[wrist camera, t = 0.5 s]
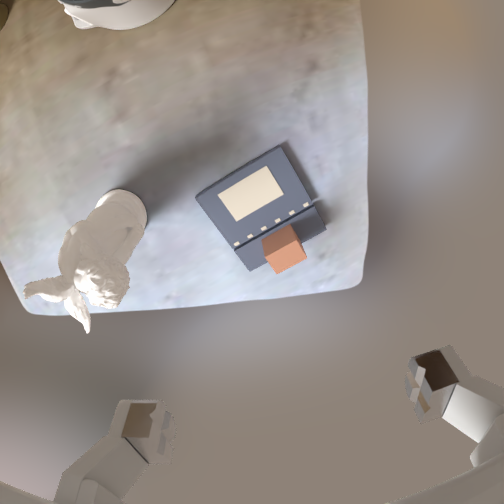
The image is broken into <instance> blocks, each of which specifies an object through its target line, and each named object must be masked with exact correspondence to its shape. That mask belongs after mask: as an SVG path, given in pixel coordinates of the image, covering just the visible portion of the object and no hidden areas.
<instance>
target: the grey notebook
mask: <svg viewBox="0 0 504 504" xmlns="http://www.w3.org/2000/svg"><path fill="white" fill-rule="evenodd" d="M195 199H196V200H197V202H198V203H199V205H200V206H201V207H202V209H203V210H204V211H205V213H206V214H207V215H208V217H209V218H210V219H211V221H212V222H213V223H214V225H215V226H216V227H217V229H218V230H219V231H220V233H221V234H222V235H223V237H224V238H225V239H226V241H227V242H228V243H229V245H230V246H231V247H232V248H233V249H234V248H236V247H237V246H239V245H241V244H243V243H244V242H246V241H248V240H250V239H252V238H253V237H255V236H257V235H259V234H260V233H262V232H264V231H266V230H268V229H269V228H271V227H273V226H275V225H276V224H278V223H280V222H282V221H284V220H285V219H287V218H289V217H291V216H292V215H294V214H296V213H298V212H300V211H301V210H303V209H305V208H307V207H309V206H310V205H312V204H313V203H312V201H311V199H310V197H309V196H308V194H307V192H306V190H305V188H304V187H303V185H302V183H301V181H300V179H299V178H298V176H297V174H296V172H295V171H294V169H293V167H292V165H291V164H290V162H289V160H288V159H287V157H286V155H285V153H284V152H283V150H282V148H281V147H280V145H279V146H277V147H275V148H273V149H272V150H270V151H268V152H267V153H265V154H263V155H261V156H260V157H258V158H256V159H255V160H253V161H251V162H249V163H248V164H246V165H244V166H243V167H241V168H239V169H238V170H236V171H234V172H233V173H231V174H229V175H228V176H226V177H225V178H223V179H221V180H220V181H218V182H217V183H215V184H213V185H212V186H210V187H209V188H207V189H205V190H204V191H202V192H201V193H199V194H198V195H196V197H195Z"/></svg>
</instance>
